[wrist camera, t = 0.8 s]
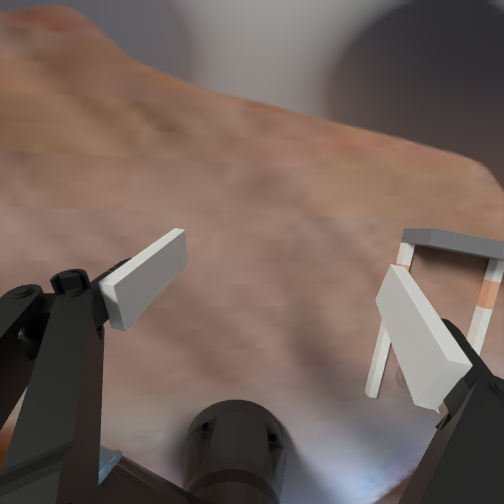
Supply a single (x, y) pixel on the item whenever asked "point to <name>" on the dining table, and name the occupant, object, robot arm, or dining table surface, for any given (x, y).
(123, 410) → the dining table surface
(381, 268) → the dining table surface
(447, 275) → the dining table surface
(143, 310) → the robot arm
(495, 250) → the guide track
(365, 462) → the dining table surface
